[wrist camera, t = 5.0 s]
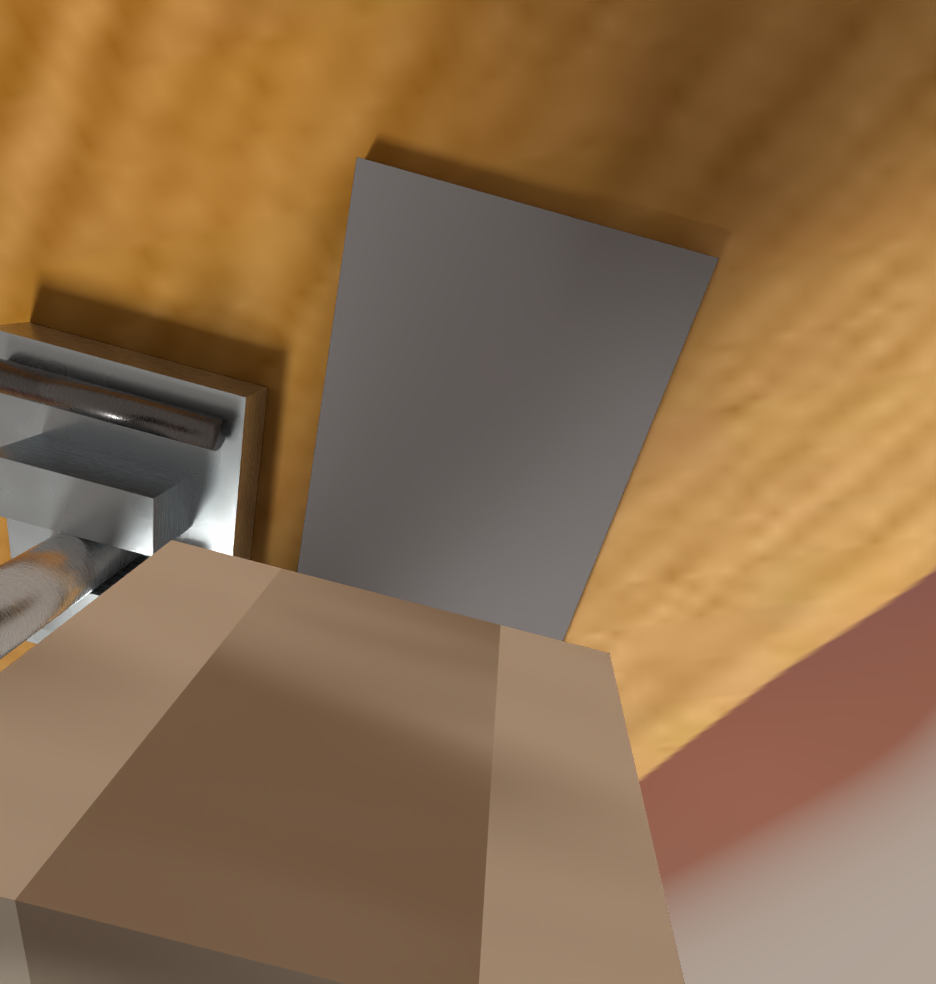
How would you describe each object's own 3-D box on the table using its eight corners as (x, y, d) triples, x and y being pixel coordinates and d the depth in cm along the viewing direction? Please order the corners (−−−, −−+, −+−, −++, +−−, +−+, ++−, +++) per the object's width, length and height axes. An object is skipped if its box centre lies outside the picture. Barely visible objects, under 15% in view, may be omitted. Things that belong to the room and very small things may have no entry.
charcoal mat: (524, 721, 22) (524, 733, 21) (289, 659, 22) (282, 669, 21) (711, 258, 15) (718, 258, 14) (362, 161, 14) (356, 156, 14)
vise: (239, 665, 22) (111, 846, 15) (51, 616, 22) (-165, 774, 15) (267, 387, 17) (99, 463, 10) (28, 322, 17) (-305, 355, 10)
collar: (494, 909, 9) (478, 1318, 6) (168, 826, 9) (-59, 1186, 6) (609, 653, 7) (704, 1074, 3) (171, 539, 7) (-220, 842, 3)
